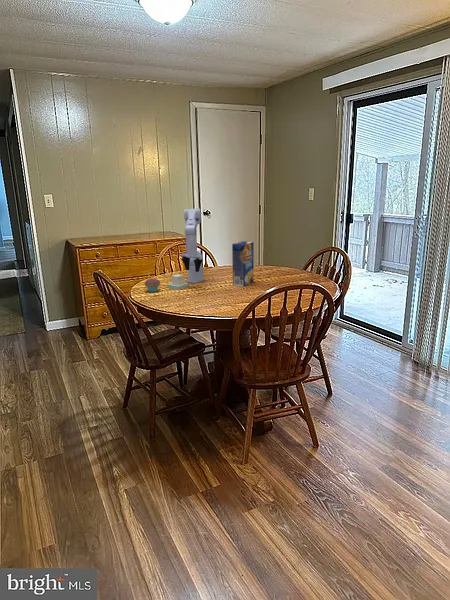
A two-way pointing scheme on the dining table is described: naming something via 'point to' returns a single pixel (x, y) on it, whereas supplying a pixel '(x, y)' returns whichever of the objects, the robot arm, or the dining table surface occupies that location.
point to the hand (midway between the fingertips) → (192, 270)
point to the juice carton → (243, 263)
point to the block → (177, 279)
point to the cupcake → (152, 284)
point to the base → (178, 286)
